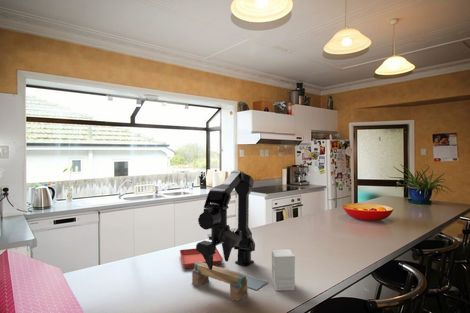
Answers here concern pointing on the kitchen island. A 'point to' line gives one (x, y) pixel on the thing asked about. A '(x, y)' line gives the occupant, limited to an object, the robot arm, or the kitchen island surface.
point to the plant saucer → (197, 257)
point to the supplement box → (283, 270)
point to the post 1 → (198, 278)
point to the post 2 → (237, 291)
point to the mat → (252, 281)
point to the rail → (221, 274)
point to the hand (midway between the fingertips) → (218, 265)
